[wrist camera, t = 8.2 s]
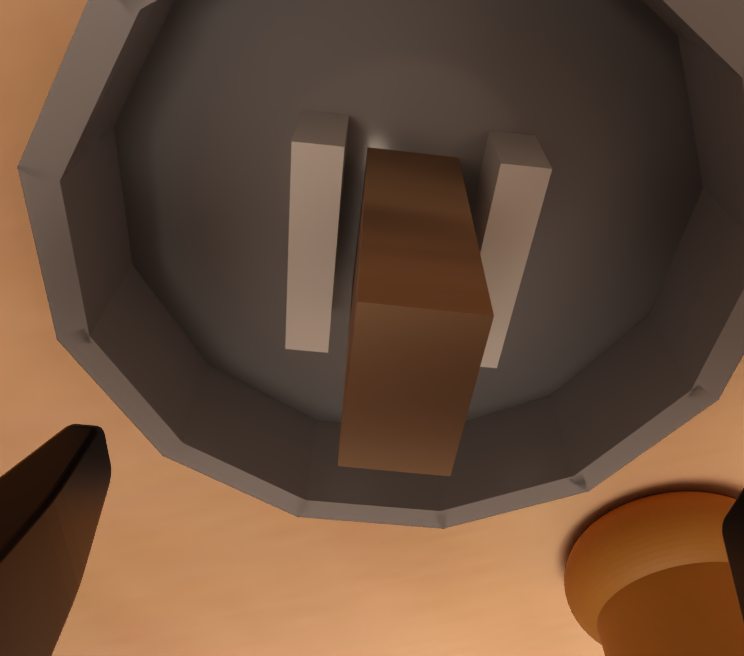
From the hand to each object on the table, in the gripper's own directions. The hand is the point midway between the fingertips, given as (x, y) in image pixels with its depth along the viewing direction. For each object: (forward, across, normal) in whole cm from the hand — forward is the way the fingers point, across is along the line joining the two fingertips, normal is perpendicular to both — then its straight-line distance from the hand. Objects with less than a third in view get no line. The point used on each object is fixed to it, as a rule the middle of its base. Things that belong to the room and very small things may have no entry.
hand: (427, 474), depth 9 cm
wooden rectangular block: (+8, 0, 0) cm, 8 cm away
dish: (+8, 0, 0) cm, 8 cm away
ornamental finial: (+8, -11, +12) cm, 18 cm away
